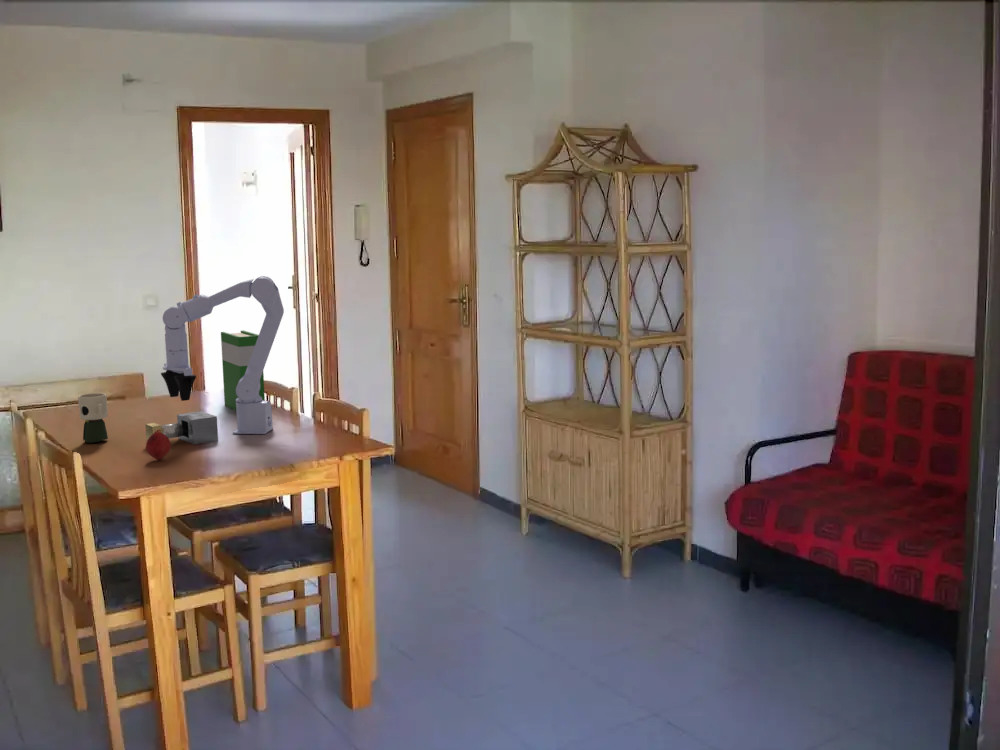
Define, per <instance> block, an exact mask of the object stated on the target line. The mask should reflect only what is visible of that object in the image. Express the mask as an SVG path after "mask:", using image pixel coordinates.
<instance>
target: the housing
mask: <svg viewBox="0 0 1000 750" xmlns="http://www.w3.org/2000/svg"><path fill="white" fill-rule="evenodd" d="M176 419H177V420H176V423H181V425H182V427H183V435H182V436H181V437H177V438H178V440H180V439H181V440H180V441H183V440H184V441H183V442H185V441H187V442H186V443H188V442H190V443H192V444H191V445H193V444H196V445H200V444H199V443H202V444H207V443H206V442H208V443H214V441H215V442H219V432H218V416H217V415H213V414H210V413H207V412H206V411H200V410H199V411H193V412H186V413H179V414H176ZM190 443H189V444H190Z"/></svg>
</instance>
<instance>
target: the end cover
mask: <svg viewBox="0 0 1000 750" xmlns="http://www.w3.org/2000/svg"><path fill="white" fill-rule="evenodd" d="M157 429H160V430H161V433H163V434H164V435H166V436H167V437H168V439H169V440H170V439H173V438H174V439H175V438H178V437H181V436H182V435H183V427H182V425H181V423H177V422H174V423H166V424H159V423H156V422H150V423H145V438H146V442H147V440H148V439H149V437H150V436H151V435H152V434H154V432H155V431H156V430H157Z"/></svg>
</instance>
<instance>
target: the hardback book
mask: <svg viewBox="0 0 1000 750" xmlns="http://www.w3.org/2000/svg"><path fill="white" fill-rule="evenodd" d="M258 336H259V334H258V333H253V332H250V331H246V330H240V332H235V333H233V332H232V333H229V332H227V331H226V332H225V331H221V332H220V341H221V343H220V344H221V360H222V361H221V362H222V377H223V382H222V383H223V397H224V398H223V399H224V401H223V402H224V406H225V407H227V408H229V409H231V410H233V411H235V412H236V399H237V398H238V396H237V394H236V387H237V385H238V382H239V380H240V379H241V378H242V377H243V376H244V375H245V372H246V370H247V367H248V364H249V361H250V358H251V356H252V353H253V350H254V347H255V344H256V342H257V339H258ZM264 376H265V375H264V371H263V372H262V375H261V378H260V385H261V386H260V390H259V395H260V397H262V400H263V401H266V399H265V398H266V396H265V379H264Z"/></svg>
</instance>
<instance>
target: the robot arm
mask: <svg viewBox="0 0 1000 750" xmlns="http://www.w3.org/2000/svg"><path fill="white" fill-rule="evenodd" d="M279 291H280V290H279V288H278V286H277V284H276V283H275V282H274V280H273V279H272V278H271V277H269V276H265V275H261V276H259V277H257V278H255V279H254V278H251V279H248V280H244V281H241V282H239V283H236V284H234V285H232V286H229V287H227V288H225V289H223V290H221V291H218V292H216V293H214V294H212V295H210V296H208V295H205V294H200V295H199V293H197V294H194V295H192V298H191V299H188V300H186V301H183V302H181V301H179V302H177V303H176V306H171V307H169V308H167V309H166V310H165V311H164V312H163V314H162V322H163V324H164V332H165V333H164V338H165V339H164V344H165V355H166V357H165V359H166V363H165V362H164V363H163V365H164V366H162V370H164V372H160V375H161V377H162V379H163V380H164V382H165V384H166V388H167V390H168V394H169V397H170V398H175V397H176V398H177V397H179V398H180V401H190V400H191V399H190V398H191V393H192V389H193V386H194V385H193V384H194V383H195V380H196V379H197V374H193V368H192V367H191V366H190V364H189V351H188V334H187V331H186V329H187V328H186V323H187V322H188V323H191V322H194V321H196V320H198V319H201V318H204V317H206V316H208V315H210V314H212V312H213V309H214V307H216V306H217V307H218V306H219V305H222V304H225V303H227V302H229V301H232V300H235V299H237V298H239V297H240V298H242V297H243V298H249V299H250V298H251V297H253V298H254V299H255V300H256V301H257V302H258V303H259V304H261V306H262V309H263V310H264V312H265V317H264V320H263V322H262V325H261V329H260V330H259V334H258V335H259V336H258V339H257V342H256V344H255V347H254V350H253V353H252V356H251V358H250V361H249V364H248V367H247V370H246V372H245V375H244V376H243V377H242V378H241V379H240V380H239V382H238V385H237V387H236V394H237V396H238V398H237V399H236V411H235V412H236V424H237V425H236V429H235V430H234V431H232V432H231V433H232V435H240V434H241V435H266V434H268V433H269V432H270V431H271V430H273V429H274V426H273V411H272V409H273V408H272V403H271V401H268V400H265V401H263V400H262V397H260V395H259V390H260V386H261V385H260V378H261V375H262V372H263V373H264V369H265V366H266V363H267V361H268V359H269V356H270V353H271V350H272V347H273V345H274V341H275V338H276V337H277V336H276V335H277V333H278V331H279V327H280V325H281V323H282V319H283V316H284V314H285V313H284V312H285V311H284V309H285V308H284V306H283V301H282V299H281V296H280V295H281V294H280V292H279Z"/></svg>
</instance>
